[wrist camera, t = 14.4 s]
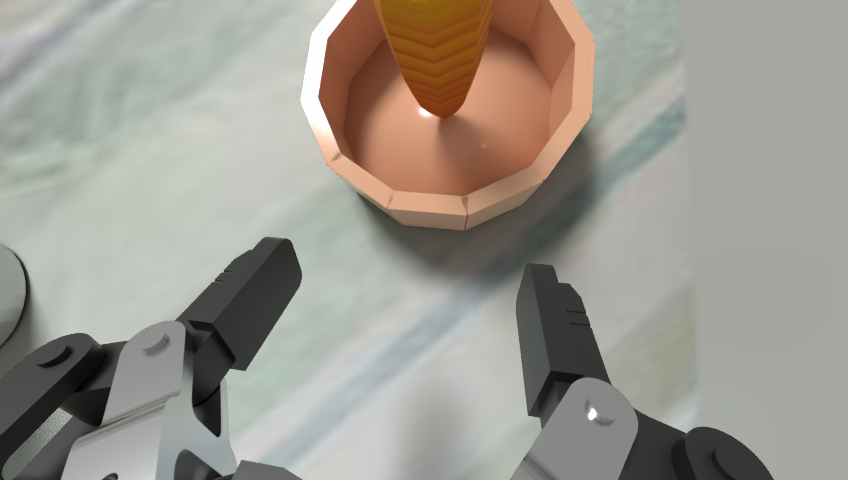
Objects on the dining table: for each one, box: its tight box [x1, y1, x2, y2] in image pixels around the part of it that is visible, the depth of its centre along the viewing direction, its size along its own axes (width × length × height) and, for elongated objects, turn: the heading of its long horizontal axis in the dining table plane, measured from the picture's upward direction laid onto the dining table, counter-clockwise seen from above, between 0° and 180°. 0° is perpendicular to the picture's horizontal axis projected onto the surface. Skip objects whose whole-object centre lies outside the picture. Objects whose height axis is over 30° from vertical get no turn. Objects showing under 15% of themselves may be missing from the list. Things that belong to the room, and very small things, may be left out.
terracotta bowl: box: [301, 0, 595, 231], centre depth 19 cm, size 16×16×5 cm
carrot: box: [373, 0, 494, 119], centre depth 13 cm, size 5×5×15 cm
